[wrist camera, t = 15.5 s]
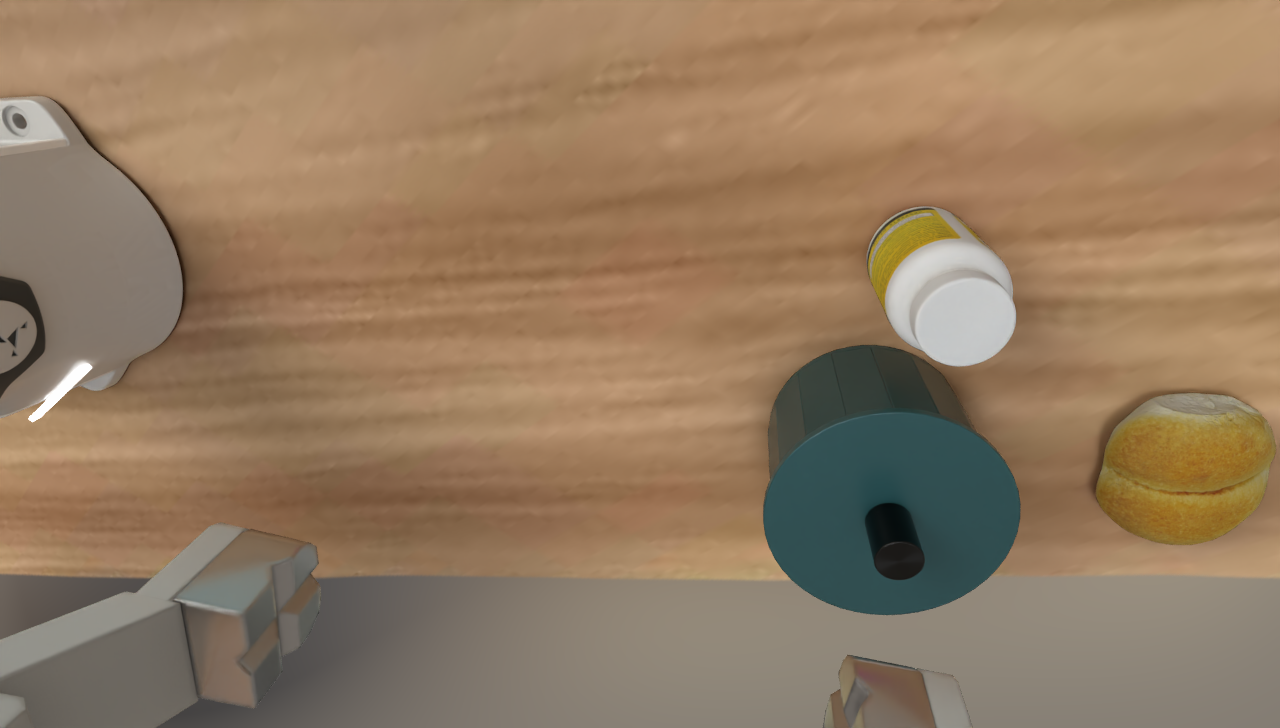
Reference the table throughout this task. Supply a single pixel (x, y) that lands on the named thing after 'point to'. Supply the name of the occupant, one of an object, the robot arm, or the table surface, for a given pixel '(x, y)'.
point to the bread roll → (1186, 467)
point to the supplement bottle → (942, 286)
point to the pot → (856, 392)
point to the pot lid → (891, 511)
